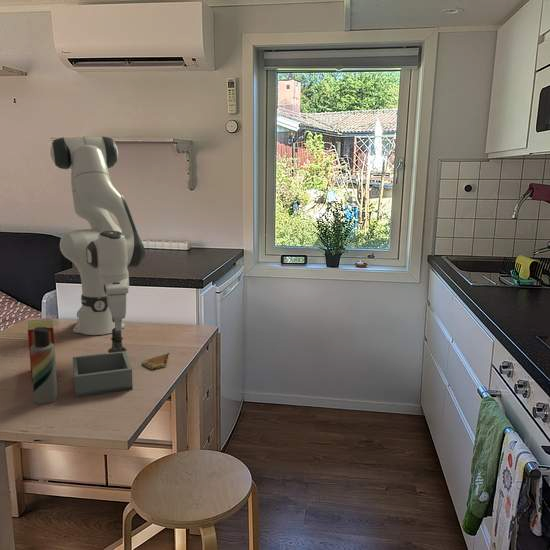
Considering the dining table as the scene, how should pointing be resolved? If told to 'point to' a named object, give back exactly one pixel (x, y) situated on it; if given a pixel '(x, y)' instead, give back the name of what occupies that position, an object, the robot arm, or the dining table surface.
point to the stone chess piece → (116, 342)
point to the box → (102, 373)
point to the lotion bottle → (43, 367)
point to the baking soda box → (35, 324)
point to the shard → (156, 361)
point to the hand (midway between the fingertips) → (116, 325)
